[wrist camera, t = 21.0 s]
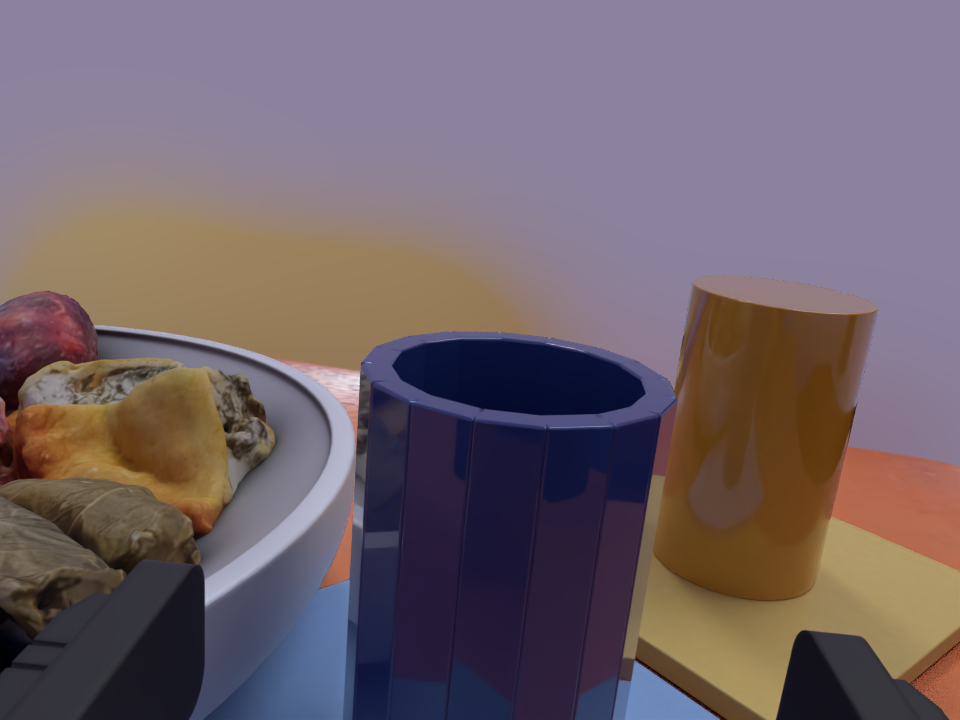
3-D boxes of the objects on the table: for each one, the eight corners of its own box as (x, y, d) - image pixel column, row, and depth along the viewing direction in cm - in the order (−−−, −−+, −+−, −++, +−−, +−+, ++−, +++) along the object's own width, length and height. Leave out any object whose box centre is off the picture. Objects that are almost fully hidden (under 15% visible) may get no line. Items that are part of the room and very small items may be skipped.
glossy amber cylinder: (847, 570, 30) (911, 306, 27) (758, 621, 26) (821, 320, 23) (710, 505, 34) (753, 272, 32) (616, 541, 31) (656, 279, 28)
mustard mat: (999, 608, 30) (1005, 589, 30) (804, 774, 21) (810, 749, 21) (686, 469, 40) (689, 454, 40) (466, 541, 31) (467, 523, 31)
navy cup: (660, 814, 18) (739, 395, 16) (450, 971, 14) (505, 452, 12) (489, 670, 23) (527, 322, 20) (292, 762, 19) (306, 346, 16)
